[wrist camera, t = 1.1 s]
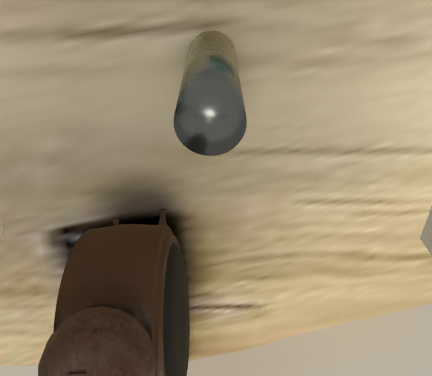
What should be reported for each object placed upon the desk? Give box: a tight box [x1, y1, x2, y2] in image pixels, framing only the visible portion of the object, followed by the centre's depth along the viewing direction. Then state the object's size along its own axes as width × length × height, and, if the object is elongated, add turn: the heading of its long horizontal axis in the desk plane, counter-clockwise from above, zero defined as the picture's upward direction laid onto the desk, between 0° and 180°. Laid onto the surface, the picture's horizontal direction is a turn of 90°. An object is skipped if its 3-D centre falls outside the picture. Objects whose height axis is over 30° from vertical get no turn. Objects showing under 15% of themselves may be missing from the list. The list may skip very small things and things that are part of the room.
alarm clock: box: [38, 209, 190, 376], centre depth 27 cm, size 14×7×20 cm, turn 4°
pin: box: [174, 31, 246, 156], centre depth 22 cm, size 3×3×12 cm
